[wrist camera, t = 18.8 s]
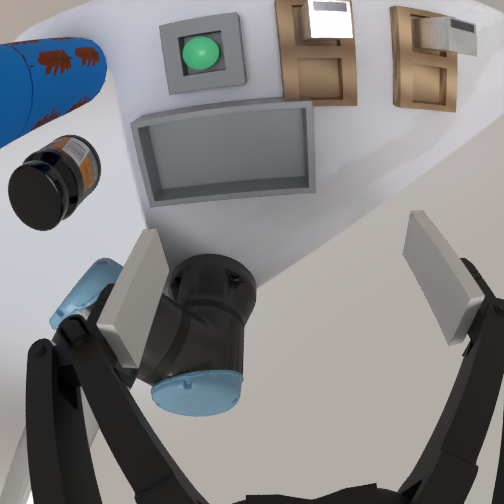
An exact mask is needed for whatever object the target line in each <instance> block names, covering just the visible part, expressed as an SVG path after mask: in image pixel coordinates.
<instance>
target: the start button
mask: <svg viewBox="0 0 504 504" xmlns="http://www.w3.org/2000/svg"><path fill="white" fill-rule="evenodd" d="M220 56H221V48H220V46H219V44H218V43H217V42H216V41H214V40H213V39H210V38H206V37H196V38H193V39H191V40H190V41H188V42H187V44H186V45H185V46H184V49H183V59H184V61H185V63H186V64H187V65H188V66H189V67H191V68H193V69H198V70H201V69H206V68H209V67H212V66H213V65H215V64H216V63H217V62H218V61H219V59H220Z"/></svg>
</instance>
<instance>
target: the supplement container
mask: <svg viewBox="0 0 504 504" xmlns="http://www.w3.org/2000/svg"><path fill="white" fill-rule="evenodd" d="M100 175H101V164H100V160H99V156H98V154H97V152H96V151H95V149H94V148H93V146H92V145H91V144H90V143H89V142H88V141H87V140H85V139H84V138H82V137H79V136H76V135H65V136H61V137H59V138H57V139H55V140H54V141H53V142H52V143H50V144H48V145H47V146H45V147H43V148H42V149H40V150H39V151H36V152H34V153H32V154H31V155H30V156H28V157H27V158H26V159H25V161H24V162H23V164H22V165H21V166H20V167H18V168H17V169H16V170H15V171H14V172H13V173H12V175H11V177H10V180H9V185H8V194H9V200H10V203H11V206H12V208H13V210H14V212H15V213H16V215H17V216H18V217H19V218H20V220H21V221H22V222H23V223H25V224H26V225H27V226H29V227H31V228H33V229H35V230H40V231H47V230H51V229H53V228H54V227H56V226H57V225H58V224H59V223H60V221H62V220H64V219H66V218H68V217H69V216H70V215H71V214H72V213H73V212H74V211H75V209H76V208H77V207H78V205H79V204H80V203H81V202H82V201H83V200H84V199H85V198H86V197H87V196H88V195H89V194H90V193H91V192H92V191H93V190H94V189H95V188H96V186H97V184H98V182H99V179H100Z"/></svg>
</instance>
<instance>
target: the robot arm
mask: <svg viewBox="0 0 504 504" xmlns="http://www.w3.org/2000/svg"><path fill="white" fill-rule="evenodd" d="M403 255H404V257H405V259H406V261H407V262H408V264H409V266H410V268H411V270H412V272H413V274H414V275H415V277H416V279H417V281H418V283H419V285H420V287H421V289H422V291H423V292H424V295H425V297H426V298H427V300H428V303H429V304H430V307H431V309H432V311H433V313H434V315H435V317H436V319H437V321H438V323H439V325H440V328H441V330H442V332H443V334H444V336H445V339H446V341H447V343H448V345H453V344H458V343H462V342H463V341H464V339H465V337H466V335H467V333H468V335H469V337H470V339H471V340H470V342H469V344H468V346H467V348H466V349H465V351H464V353H463V355H462V356H464V358H463V361H462V364H461V367H460V370H459V373H458V375H457V378H456V381H455V383H454V386H453V388H452V391H451V393H450V396H449V398H448V401H447V403H446V405H445V408H444V410H443V412H442V415H441V417H440V419H439V421H438V423H437V425H436V428H435V430H434V431H433V434H432V436H431V438H430V440H429V442H428V444H427V445H426V448H425V449H424V451H423V453H422V455H421V457H420V459H419V461H418V462H417V464H416V466H415V468H414V469H413V471H412V473H411V474H410V476H409V477H408V478H407V480H406V481H405V482H404V483H403V484H402V486H401V487H400V489H399V490H398V492H394V491H391V490H388V489H382V488H377V485H376V483H373V484H368V485H363V486H357V487H350V488H345V489H342V490H340V491H337V492H334V493H332V494H329V495H326V496H323V497H320V498H317V499H313V500H310V499H302V498H296V497H290V496H284V495H246V500H242V501H239V502H236V503H233V504H464V502H465V500H466V497H467V495H468V493H469V491H470V489H471V487H472V485H473V482H474V480H475V478H476V475H477V472H478V466H477V465H476V461H477V458H478V455H479V452H480V450H481V447H482V445H483V442H484V439H485V436H486V433H487V431H488V428H489V425H490V421H491V418H492V415H493V412H494V409H495V405H496V401H497V398H498V394H499V390H500V387H501V382H502V379H503V374H504V300H503V299H500V298H496V297H495V296H494V294H493V292H492V291H491V289H490V288H489V286H488V285H487V283H486V282H485V281H484V279H482V276H481V275H480V273H478V270H477V269H476V268H475V266H474V265H473V264H472V263H471V262H470V261H468V260H467V259H466V258H459V257H458V255H457V254H456V253H455V251H454V250H453V248H452V247H451V246H450V244H449V243H448V242H447V240H446V239H445V238H444V237H443V235H442V234H441V233H440V231H439V230H438V229H437V227H436V226H435V225H434V224H433V222H432V221H431V220H430V219H429V217H428V216H427V215H426V214H425V212H424V211H423V210H421V211H410V217H409V223H408V229H407V235H406V240H405V245H404V250H403ZM169 271H170V270H169V267H168V264H167V261H166V257H165V254H164V251H163V248H162V244H161V241H160V237H159V234H158V230H157V228H156V229H146V230H143V232H142V234H141V235H140V237H139V239H138V241H137V243H136V245H135V246H134V248H133V250H132V252H131V254H130V256H129V258H128V260H127V262H126V264H125V266H124V267H123V266H121V265H120V264H118V263H117V262H115V261H113V260H112V259H109V258H102V259H99V260H97V261H96V262H95V263H94V264H93V265H92V266H91V267H90V268H89V269H88V271H87V272H86V273H85V274H84V276H83V277H82V278H81V279H80V280H79V282H78V283H77V284H76V285H75V287H74V288H73V289H72V290H71V292H70V293H69V294H68V296H67V297H66V298H65V300H64V301H63V302H62V304H61V305H60V306H59V308H58V309H57V310H56V312H55V313H54V314H53V316H52V317H51V318H50V321H49V322H50V325H51V326H52V329H54V330H55V329H57V331H56V333H55V335H54V337H53V339H52V341H50V340H48V339H45V338H44V339H39V340H38V341H36V342H35V343H33V344H32V346H31V347H30V349H29V351H28V361H27V375H26V426H25V428H24V431H23V433H22V436H21V438H20V441H19V444H18V446H17V449H16V452H15V454H14V457H13V460H12V463H11V466H10V469H9V472H8V475H7V478H6V481H5V484H4V487H3V491H2V494H1V497H0V504H102V501H101V497H100V493H99V489H98V485H97V481H96V477H95V472H94V468H93V463H92V459H91V454H90V447H91V445H92V443H93V440H94V438H95V436H96V434H97V431H98V429H99V427H100V430H101V432H102V434H103V436H104V438H105V440H106V442H107V444H108V446H109V447H110V449H111V451H112V453H113V455H114V457H115V459H116V461H117V462H118V464H119V466H120V468H121V470H122V471H123V473H124V475H125V477H126V478H127V480H128V481H129V483H130V485H131V486H132V488H133V490H134V492H135V500H136V503H137V504H209V503H208V502H207V501H206V500H205V499H204V497H202V495H201V494H200V493H199V492H198V491H197V490H196V489H195V488H194V486H193V485H192V484H191V483H190V481H189V480H188V478H187V477H186V476H185V475H184V473H183V472H182V471H181V469H180V468H179V467H178V465H177V464H176V462H175V461H174V460H173V458H172V457H171V456H170V454H169V453H168V451H167V450H166V448H165V447H164V446H163V444H162V443H161V441H160V440H159V438H158V437H157V435H156V434H155V432H154V431H153V429H152V428H151V426H150V425H149V423H148V421H147V420H146V418H145V417H144V415H143V413H142V412H141V410H140V408H139V407H138V405H137V403H136V402H135V400H134V398H133V397H132V395H131V393H130V392H129V390H130V389H131V388H132V386H133V384H134V381H135V379H136V378H138V379H140V380H142V381H144V382H146V383H148V384H150V385H151V386H152V387H153V388H152V389H151V394H152V399H153V401H154V402H155V403H156V405H157V406H158V407H160V408H162V409H164V410H166V411H168V412H172V413H175V414H179V415H185V416H211V415H216V414H220V413H223V412H225V411H228V410H230V409H231V408H232V407H234V406H235V404H237V402H238V400H239V398H240V392H241V384H242V382H243V352H244V350H243V349H244V326H245V325H246V323H247V320H248V319H249V316H250V315H251V313H252V311H253V308H254V306H255V303H256V284H255V281H254V278H253V277H252V275H251V274H250V272H249V271H248V270H247V269H246V268H245V267H244V266H243V265H241V264H240V263H238V262H236V261H235V260H232V259H230V258H227V257H224V256H220V255H210V254H208V255H198V256H194V257H191V258H189V259H187V260H185V261H184V262H182V263H181V264H180V265H179V266H178V267H177V268H176V269H175V271H174V273H173V275H172V278H171V281H170V285H169V297H167V296H166V295H164V294H163V293H162V291H163V288H164V285H165V282H166V279H167V276H168V273H169ZM492 504H504V412H503V428H502V440H501V448H500V457H499V464H498V470H497V476H496V482H495V488H494V492H493V499H492Z"/></svg>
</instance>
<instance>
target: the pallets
mask: <svg viewBox="0 0 504 504" xmlns="http://www.w3.org/2000/svg"><path fill="white" fill-rule="evenodd" d="M306 1H307V0H275V11H276V20H277V30H278V39H279V50H280V60H281V71H282V82H283V94H284V98H285V100H288V99H300V97H306V96H308V97H309V98H310V99H311V100H312V104H313V106H357V75H356V54H355V38H354V25H353V13H352V3H351V1H350V10H351V21H352V33H353V38H350V39H342V40H334V41H299V32H298V22H297V13H296V12H297V11H298V10H299V9H300V8H301V7H302V6H303V5H304V4H305V2H306ZM337 1H349V0H337ZM390 17H391V30H392V49H393V104H394V105H396V106H398V107H401V108H415V109H427V110H438V111H447V112H455V113H456V98H457V53H450V52H442V51H434V50H428V49H422V48H415V47H412V32H411V19H421V18H432V17H446V15H442V14H437V13H433V12H428V11H423V10H418V9H413V8H407V7H401V6H394V7H390ZM448 17H450V16H448ZM452 18H454V17H452Z"/></svg>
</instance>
